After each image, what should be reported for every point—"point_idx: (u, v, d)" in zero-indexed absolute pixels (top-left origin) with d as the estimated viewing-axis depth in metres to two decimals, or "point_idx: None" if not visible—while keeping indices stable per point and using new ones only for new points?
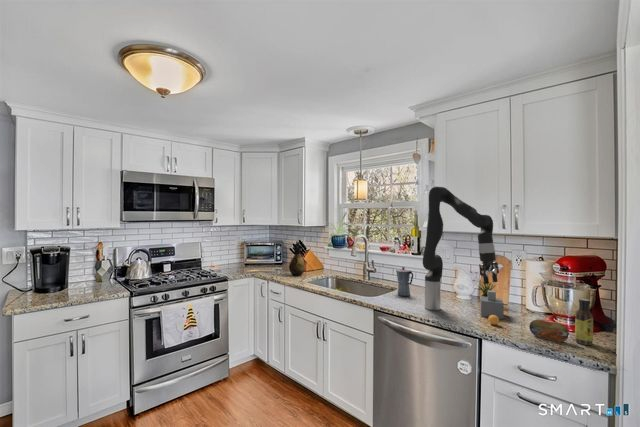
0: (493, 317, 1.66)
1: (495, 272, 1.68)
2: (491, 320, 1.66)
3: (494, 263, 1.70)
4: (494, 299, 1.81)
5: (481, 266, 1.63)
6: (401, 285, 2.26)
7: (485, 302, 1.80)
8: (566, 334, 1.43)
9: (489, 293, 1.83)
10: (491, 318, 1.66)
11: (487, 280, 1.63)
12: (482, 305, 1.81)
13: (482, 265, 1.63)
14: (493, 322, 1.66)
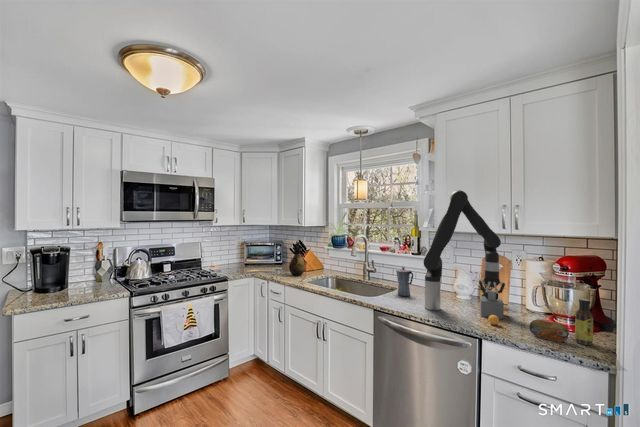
0: (493, 317, 1.66)
1: (487, 288, 1.86)
2: (491, 320, 1.66)
3: (482, 281, 1.86)
4: (494, 299, 1.81)
5: None
6: (401, 285, 2.26)
7: (485, 302, 1.80)
8: (566, 334, 1.43)
9: (489, 293, 1.83)
10: (491, 318, 1.66)
11: None
12: (482, 305, 1.81)
13: (504, 284, 1.82)
14: (493, 322, 1.66)
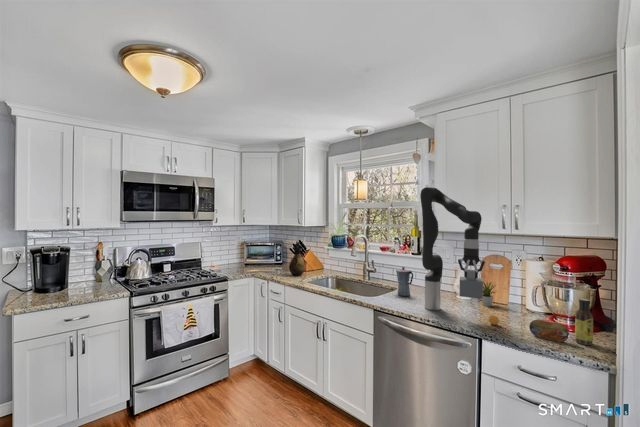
0: (493, 317, 1.66)
1: None
2: (491, 320, 1.66)
3: None
4: (473, 278, 1.71)
5: (484, 263, 1.71)
6: (401, 285, 2.26)
7: (464, 281, 1.70)
8: (566, 334, 1.43)
9: (468, 272, 1.72)
10: (491, 318, 1.66)
11: None
12: (461, 284, 1.71)
13: None
14: (493, 322, 1.66)
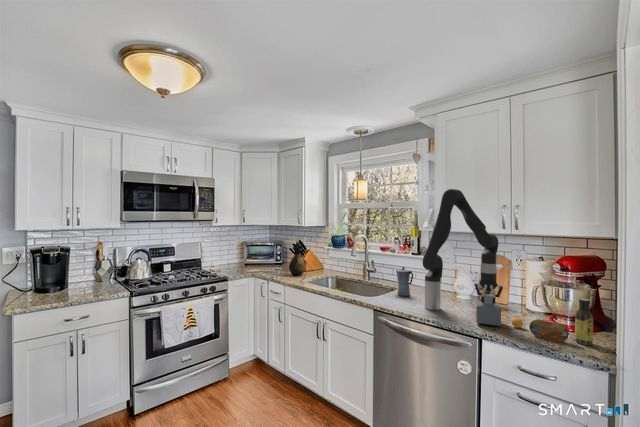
0: (514, 325, 1.62)
1: None
2: (519, 326, 1.61)
3: None
4: (491, 304, 1.66)
5: None
6: (401, 285, 2.26)
7: (481, 307, 1.65)
8: (566, 334, 1.43)
9: (485, 297, 1.67)
10: (517, 326, 1.62)
11: None
12: (478, 310, 1.66)
13: None
14: (520, 324, 1.61)
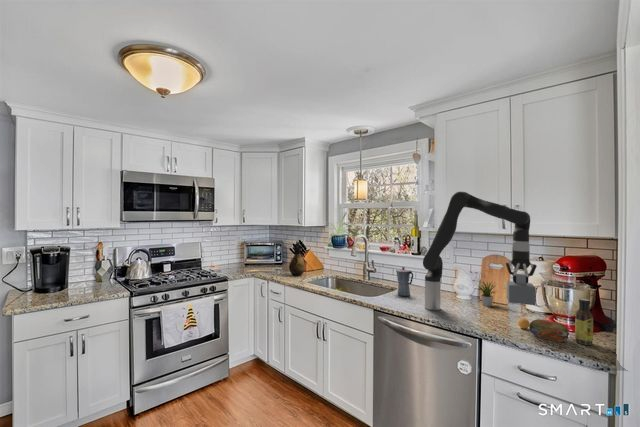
0: (521, 322, 1.61)
1: None
2: (522, 326, 1.61)
3: None
4: (524, 283, 1.60)
5: None
6: (401, 285, 2.26)
7: (514, 286, 1.59)
8: (566, 334, 1.43)
9: (518, 276, 1.61)
10: (520, 324, 1.61)
11: None
12: (510, 290, 1.59)
13: None
14: (525, 326, 1.60)
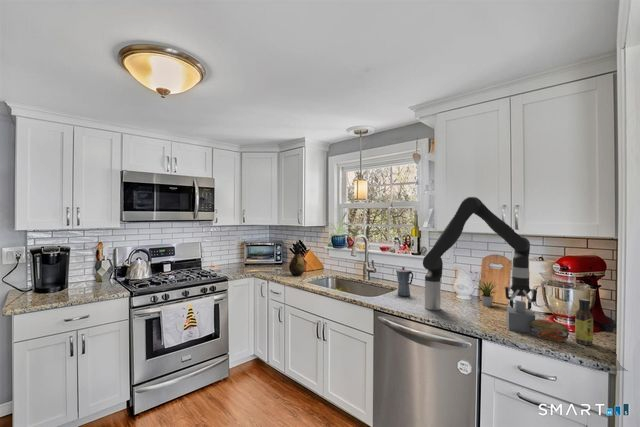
0: None
1: None
2: None
3: None
4: (523, 310, 1.60)
5: None
6: (401, 285, 2.26)
7: (513, 314, 1.59)
8: (566, 334, 1.43)
9: (518, 304, 1.61)
10: None
11: None
12: (510, 317, 1.59)
13: None
14: None
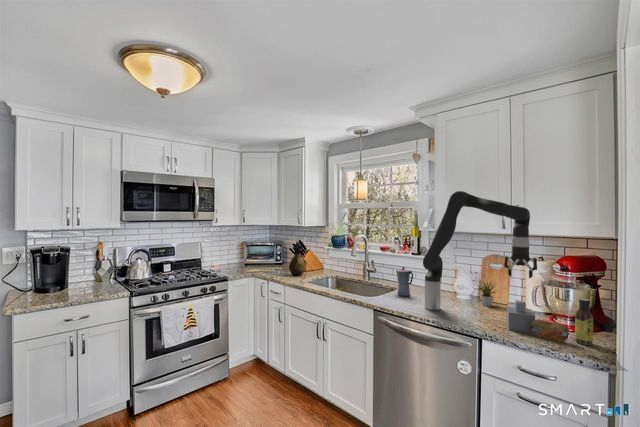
0: None
1: None
2: None
3: (508, 257, 1.66)
4: (523, 310, 1.60)
5: None
6: (401, 285, 2.26)
7: (513, 314, 1.59)
8: (566, 334, 1.43)
9: (518, 304, 1.61)
10: None
11: None
12: (510, 317, 1.59)
13: None
14: None
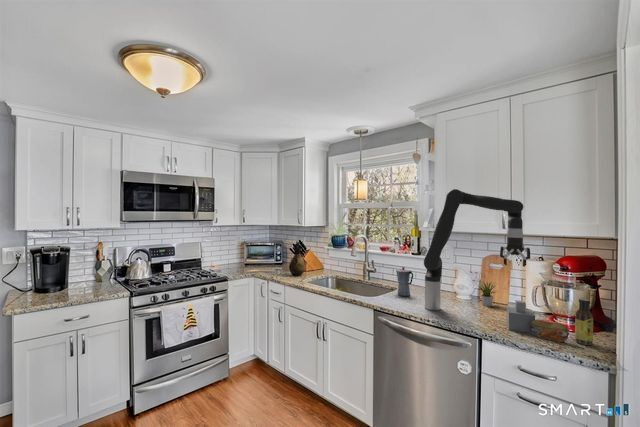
0: None
1: None
2: None
3: None
4: (523, 310, 1.60)
5: None
6: (401, 285, 2.26)
7: (513, 314, 1.59)
8: (566, 334, 1.43)
9: (518, 304, 1.61)
10: None
11: None
12: (510, 317, 1.59)
13: None
14: None
